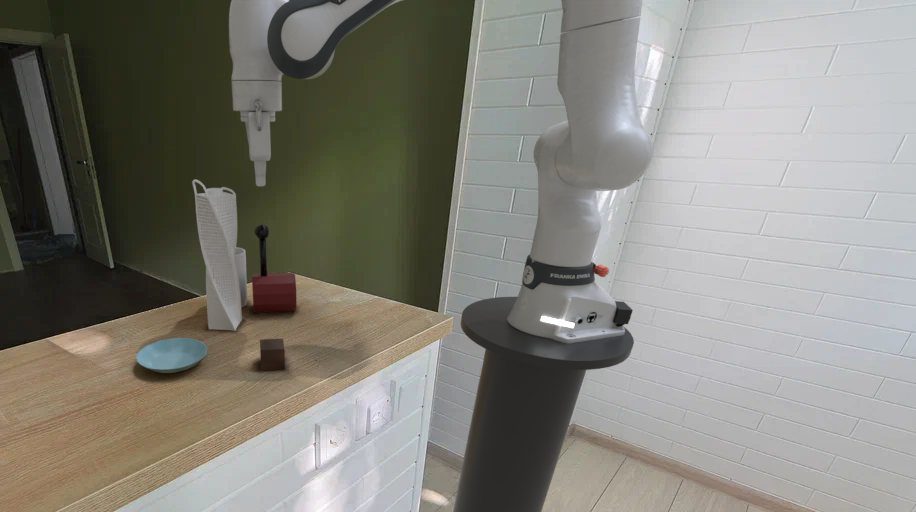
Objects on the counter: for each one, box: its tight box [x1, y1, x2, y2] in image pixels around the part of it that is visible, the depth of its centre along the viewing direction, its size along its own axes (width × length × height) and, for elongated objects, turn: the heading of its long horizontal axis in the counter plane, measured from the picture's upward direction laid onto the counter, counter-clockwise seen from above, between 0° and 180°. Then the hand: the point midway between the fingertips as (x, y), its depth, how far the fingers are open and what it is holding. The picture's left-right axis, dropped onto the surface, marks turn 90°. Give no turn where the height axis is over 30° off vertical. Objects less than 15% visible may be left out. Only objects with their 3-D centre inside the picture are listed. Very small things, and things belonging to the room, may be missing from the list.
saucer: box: [135, 337, 208, 374], centre depth 83 cm, size 12×12×2 cm
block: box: [259, 338, 286, 372], centre depth 82 cm, size 4×4×4 cm
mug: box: [234, 246, 248, 308], centre depth 104 cm, size 10×7×12 cm, turn 169°
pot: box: [251, 223, 297, 314], centre depth 101 cm, size 18×8×9 cm
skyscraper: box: [191, 178, 243, 332], centre depth 91 cm, size 8×8×28 cm
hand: (260, 182), depth 92 cm, fingers open, 8 cm apart
